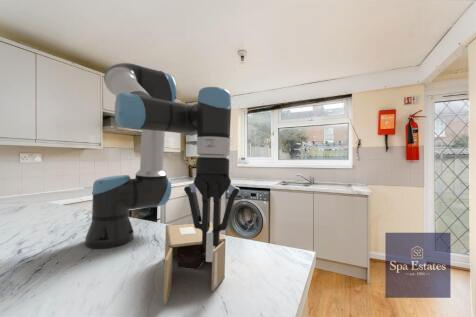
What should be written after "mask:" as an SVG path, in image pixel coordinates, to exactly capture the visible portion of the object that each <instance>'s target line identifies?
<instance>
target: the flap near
mask: <svg viewBox="0 0 476 317" xmlns="http://www.w3.org/2000/svg"><path fill="white" fill-rule="evenodd" d="M163 275H164V276H163V277H164V280H163V305H167V302H168V299H169V297H170V294H171V289H172V283H173V282H172V281H173V279H172V277H173V258H172V248H170V250H169V252H168V254H167V257H166V259H165V258H164V272H163Z"/></svg>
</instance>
